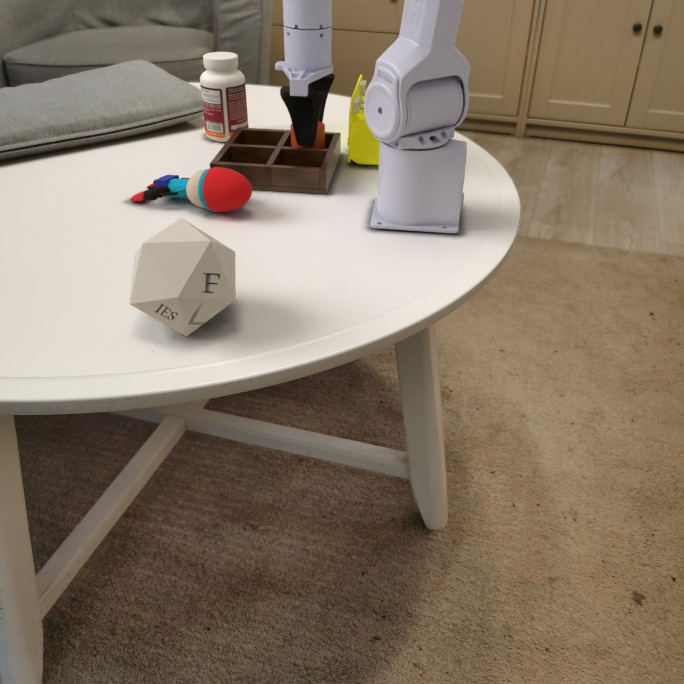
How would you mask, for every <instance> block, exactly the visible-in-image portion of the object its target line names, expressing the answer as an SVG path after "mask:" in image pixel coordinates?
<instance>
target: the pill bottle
mask: <svg viewBox="0 0 684 684" xmlns="http://www.w3.org/2000/svg"><path fill="white" fill-rule="evenodd" d="M202 61H203V62H202V63H203V67H204V68H205V71H203V72H202V73H201V75H200V76H199V84H200V94H201V104H202V113H203V123H204V132H205V136H206V138H208V140H211V141H213V142H219V143H226V142H227V141H228V140H229V138H230V137H231V136H232V134H233V133H234V132H235V131H236V129H237V128H238V127H242V128H250V127H249V115H248V105H247V104H248V103H247V102H248V100H247V88H246V78H245V74H244V73H243V71H241V70H239V69H238V67H239V55H238V54H237V53H235V52H230V51H212V52H208V53H205V54H203V55H202Z"/></svg>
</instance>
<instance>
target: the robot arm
mask: <svg viewBox="0 0 684 684" xmlns="http://www.w3.org/2000/svg"><path fill="white" fill-rule="evenodd" d="M465 1H466V0H404V4H403V9H402V10H403V11H402V16H401V22H400V28H399V33H398V37H397V39H396V40H394V42H393V43H392V44H391V45H390V46H389V47H388V48H387V49H386V50H385V51H383V53H382V54H381V55H380V56H379V57H378V58H377V59H376V61H375V66H374V72H373V76H372V78H371V81H370V82H369V84H368V86H367V87H366V94H365V98H364V114H365V119H366V122H367V124H368V127H369V128H370V130H371V132H372V133H373V134H374V138H375V139H377V140H379V141H380V148H379V164H378V172H377V173H378V174H377V175H378V176H377V191H376V192H377V193H376V194H377V196H376V197H375V200H374V203H373V208H372V212H371V213H372V214H371V218H370V226H369V227H370V228H372V229H380V230H397V231H413V232H427V233H444V234H457V233H459V229H460V220H461V218H460V217H461V210H463V209H464V203H465V202H464V201H465V192H464V184H465V177H466V167H467V166H466V165H467V152H468V151H467V150H468V146H467V144H468V143H467V141H465V140H460V139H454V138H455V131H456V128H457V127H459V126H460V125H461V124H462V123H463V122H464V120H465V119H466V117H467V115H468V111H469V106H470V92H469V91H470V90H469V78H470V74H471V69H472V66H471V65H472V64H470V62H469V61H468V59H467V57H466V56H464V54H463V53H462V52H461V51H460V50H459V49H458V48H457V47H456V42H457V38H458V33H459V28H460V24H461V19H462V14H463V10H464V6H465ZM332 12H333V0H282V19H283V20H282V21H283V49H284V50H283V51H284V53H283V54H284V60H279V61H276V63H275V64H274V69H275V71H279V72H283V73H284V75H286V77H287V79H288V80H289V85H282V86H281V87H280V89H279V93H280V94H279V95H280V99H281V100H282V102H283V103H284V105H285V107H286V109H287V111H288V115H289V117H290V121H291V124H292V125H293V129H294V134H295V138H296V142H297V145H298V146H314V143H315V140H316V135H317V128H318V121H320V122H322V123H324V122H323V121H324V117H325V116H324V114H325V109H326V105H327V104H326V103H327V100H328V96H329V93H330V90H331V87H332V85H333V83H334V81H335V78H336V75H335V74H334V73H333V72H334V63H332V62H333V61H332V60H333V59H332V53H333V52H332V47H333V46H332V43H333V41H332V40H333V39H332V37H333V13H332Z"/></svg>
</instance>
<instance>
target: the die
mask: <svg viewBox="0 0 684 684" xmlns="http://www.w3.org/2000/svg"><path fill="white" fill-rule="evenodd" d="M131 275H132V276H131V285H130V295H129V305H130V306H132V307H133V308H136V309H137V310H139V311H141V312H142V313H144V314H146V315H147V316H149V317H151V318H153V319H154V320H156V321H159V322H160V323H161V324H163V325H165V326H166V327H169V328H170V329H172V330H174V331H175V332H177V333H179V334H181V335H183V336H184V337H186V338H187V337H188V336H190V335H191V334H193V333H194V332H195V331H196V330H198V329H199V328H200V327H202V326H203V325H204V324H206V323H207V322H208V321H210V320H211V319H212V318H214V317H215V316H216V315H218V313H220V312H221V311H223V310H224V309H225V308H227V307H228V306H229V305H231V304H232V303H234V302H235V301H236V300H237V299H236V298H237V297H236V295H237V294H236V293H237V292H236V291H237V290H236V285H237V284H236V250H235V251H234V250H233V249H232V248H230V247H228V246H227V245H225V244H224V243H222V242H221V241H219V240H218V239H216V238H215V237H213V236H211V235H209V234H208V233H207V232H205V231H204V230H202V229H200V228H198V227H197V226H195V225H194V224H192V223H191V222H189V221H188V220H186V219H184V218H182V217H180V218H179V219H178V220H176V221H175V222H173V223H172V224H170V225H168V226H167V227H165V228H164V229H162V230H161V231H159V232H158V233H156V234H154V235H153V236H151V237H150V238H147V240H145V241H144V242H142V243H141V244H140V247H139V248H138V249H137V250H136V252H135V254H134V256H133V264H132V273H131Z"/></svg>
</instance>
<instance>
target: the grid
mask: <svg viewBox="0 0 684 684" xmlns="http://www.w3.org/2000/svg"><path fill="white" fill-rule="evenodd" d="M341 136H342V135H341V132H332V131H325V149H320V148H302V147H291V129H274V128H258V127H249V128H242V127H238V128H237V129H236V131H235V132H234V133H233V134H232V136H231V137H230V138H229V140H228V141H227V142H224V144H223V146H222V147H221V148H220V149H219V151H218V152H217V153H216V155H215V156H214V158H212V160H211V161H210V162H209V168H213V167H223V168H227V169H232V170H234V171H236V172H239V173H240V174H242V175H243V176H244V177H246V178H247V180H248V181H249V182H250V184H251V187H252V191H268V192H269V191H270V192H283V193H285V192H286V193H302V194H315V195H316V194H317V195H318V194H320V195H327V193H328V191H329V188H330V185H331V182H332V179H333V176H334V173H335V170H336V168H337V165H338V163H339V159H340V157H341V143H342V142H341V139H342V137H341Z"/></svg>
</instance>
